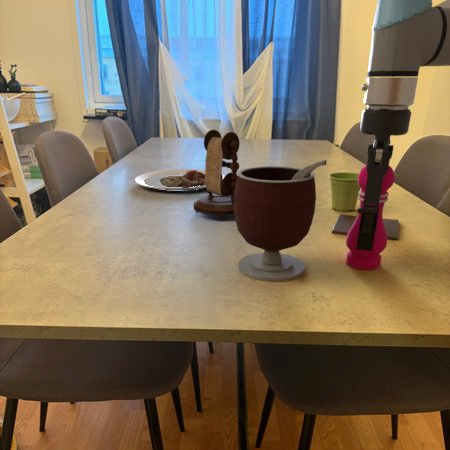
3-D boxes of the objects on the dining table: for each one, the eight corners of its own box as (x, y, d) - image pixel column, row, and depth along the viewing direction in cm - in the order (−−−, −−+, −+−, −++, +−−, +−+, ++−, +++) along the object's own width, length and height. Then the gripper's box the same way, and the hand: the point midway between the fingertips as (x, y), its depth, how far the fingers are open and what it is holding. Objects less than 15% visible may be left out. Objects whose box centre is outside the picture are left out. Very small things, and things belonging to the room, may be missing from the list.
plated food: (118, 190, 134) (116, 179, 133) (159, 172, 160) (158, 163, 158) (209, 197, 126) (208, 186, 125) (237, 177, 152) (237, 167, 150)
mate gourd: (219, 271, 78) (217, 157, 69) (257, 249, 88) (260, 146, 79) (297, 292, 70) (307, 166, 61) (329, 265, 81) (342, 153, 71)
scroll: (182, 212, 113) (178, 130, 104) (225, 202, 121) (225, 126, 112) (218, 225, 103) (217, 136, 94) (262, 213, 111) (265, 131, 102)
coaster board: (398, 222, 105) (398, 219, 104) (397, 240, 93) (397, 237, 93) (339, 216, 109) (339, 214, 109) (331, 233, 97) (331, 230, 97)
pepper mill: (386, 260, 83) (406, 151, 73) (377, 274, 77) (398, 157, 68) (349, 254, 86) (363, 148, 77) (338, 266, 80) (352, 154, 71)
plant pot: (323, 211, 113) (326, 177, 109) (327, 202, 121) (330, 171, 117) (360, 214, 110) (365, 180, 106) (362, 205, 118) (366, 173, 114)
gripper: (367, 103, 79) (351, 221, 90) (356, 111, 61) (337, 258, 71) (411, 104, 77) (389, 224, 87) (413, 112, 59) (385, 264, 69)
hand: (366, 240), depth 79 cm, fingers open, 10 cm apart
